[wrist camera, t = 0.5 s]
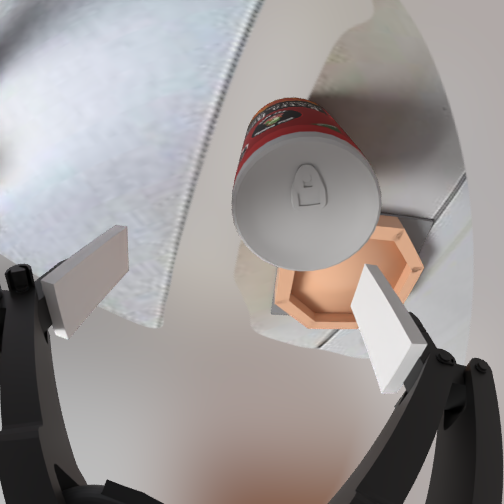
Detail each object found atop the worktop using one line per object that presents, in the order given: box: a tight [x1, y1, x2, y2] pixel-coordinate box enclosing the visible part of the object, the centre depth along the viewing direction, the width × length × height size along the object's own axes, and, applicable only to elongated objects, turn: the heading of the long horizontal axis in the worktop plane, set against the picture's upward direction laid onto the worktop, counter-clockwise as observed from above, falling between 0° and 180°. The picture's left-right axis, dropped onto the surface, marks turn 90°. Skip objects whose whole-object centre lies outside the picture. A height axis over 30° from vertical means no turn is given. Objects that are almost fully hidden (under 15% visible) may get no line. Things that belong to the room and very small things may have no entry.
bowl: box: [275, 215, 424, 329], centre depth 30 cm, size 16×16×2 cm
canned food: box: [232, 98, 382, 271], centre depth 18 cm, size 8×8×11 cm
